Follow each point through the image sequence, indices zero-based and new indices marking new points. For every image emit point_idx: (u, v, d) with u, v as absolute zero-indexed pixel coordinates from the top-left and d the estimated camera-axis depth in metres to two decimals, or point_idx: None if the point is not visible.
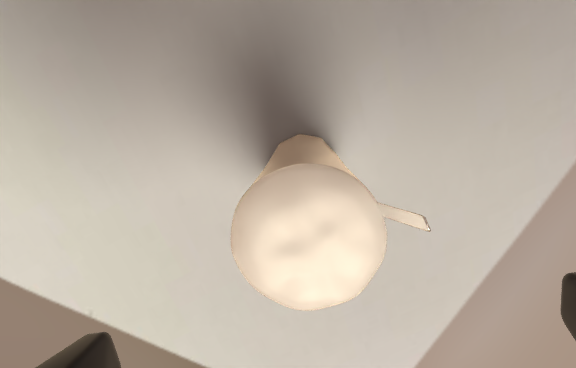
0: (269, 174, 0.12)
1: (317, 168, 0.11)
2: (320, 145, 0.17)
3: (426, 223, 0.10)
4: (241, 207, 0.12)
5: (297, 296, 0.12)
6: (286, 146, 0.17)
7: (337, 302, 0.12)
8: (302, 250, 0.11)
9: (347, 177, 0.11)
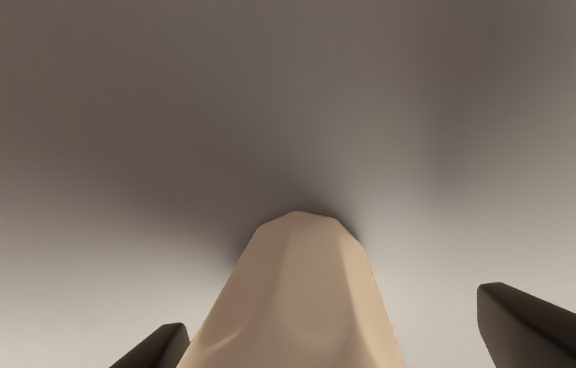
0: None
1: None
2: (330, 264, 0.08)
3: None
4: None
5: None
6: (259, 256, 0.08)
7: None
8: None
9: None
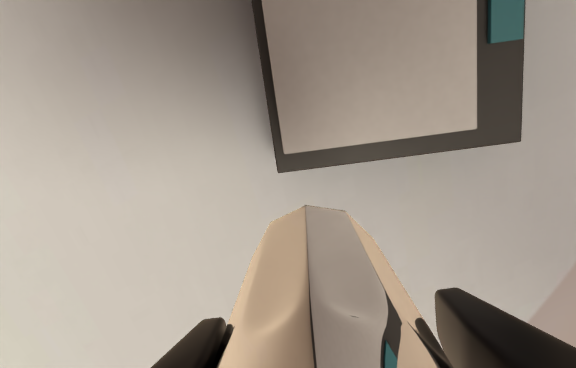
0: None
1: None
2: (352, 251, 0.08)
3: None
4: None
5: None
6: (281, 249, 0.08)
7: None
8: None
9: None
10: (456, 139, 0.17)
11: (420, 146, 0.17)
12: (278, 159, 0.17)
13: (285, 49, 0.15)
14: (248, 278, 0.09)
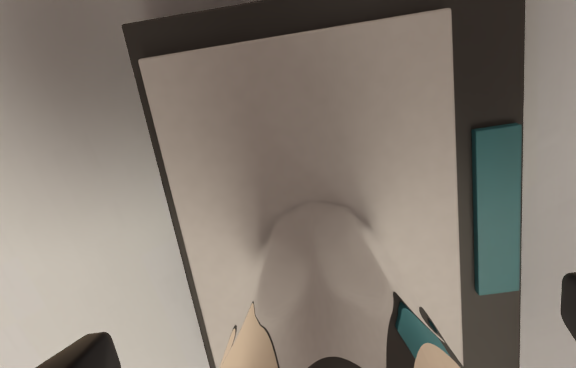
0: None
1: None
2: (355, 243, 0.08)
3: None
4: None
5: None
6: (288, 242, 0.09)
7: None
8: None
9: None
10: None
11: None
12: None
13: (221, 310, 0.12)
14: (257, 269, 0.09)
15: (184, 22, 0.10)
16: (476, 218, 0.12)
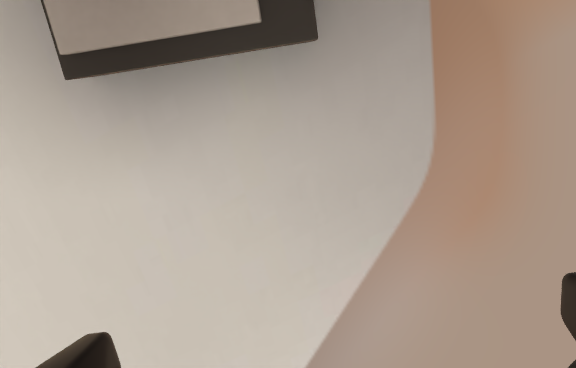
0: None
1: None
2: None
3: None
4: None
5: None
6: None
7: None
8: None
9: None
10: (248, 37, 0.16)
11: (211, 46, 0.16)
12: (63, 64, 0.16)
13: None
14: None
15: None
16: None
